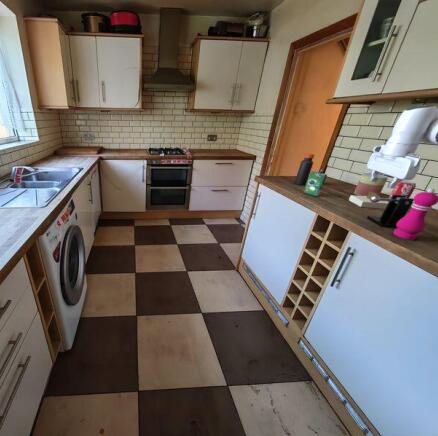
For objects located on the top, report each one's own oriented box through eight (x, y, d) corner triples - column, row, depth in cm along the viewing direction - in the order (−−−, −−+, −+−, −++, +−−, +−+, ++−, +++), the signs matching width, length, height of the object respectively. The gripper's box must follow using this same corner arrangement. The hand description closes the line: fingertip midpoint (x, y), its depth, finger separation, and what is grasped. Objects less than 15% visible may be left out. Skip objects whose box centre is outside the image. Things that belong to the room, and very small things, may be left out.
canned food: (382, 199, 131) (392, 179, 126) (358, 196, 134) (367, 176, 129) (372, 193, 141) (381, 174, 135) (350, 190, 144) (358, 172, 139)
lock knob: (366, 197, 124) (369, 190, 122) (369, 197, 124) (372, 191, 122) (372, 200, 119) (376, 194, 118) (376, 200, 119) (379, 194, 117)
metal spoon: (372, 203, 98) (375, 196, 96) (366, 200, 100) (370, 193, 99) (406, 205, 96) (410, 198, 94) (399, 203, 99) (403, 196, 97)
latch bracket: (381, 226, 98) (396, 199, 93) (366, 218, 106) (379, 192, 101) (412, 229, 97) (429, 201, 91) (395, 220, 105) (410, 194, 99)
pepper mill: (386, 231, 95) (412, 185, 86) (404, 232, 94) (431, 185, 86) (403, 240, 88) (433, 191, 79) (422, 241, 88) (454, 192, 79)
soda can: (393, 206, 121) (405, 183, 115) (382, 201, 127) (394, 179, 122) (408, 207, 120) (421, 184, 114) (397, 202, 126) (409, 180, 121)
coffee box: (319, 196, 133) (327, 174, 127) (316, 196, 132) (324, 174, 126) (305, 192, 140) (313, 170, 134) (302, 192, 138) (310, 171, 133)
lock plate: (376, 202, 126) (378, 196, 125) (390, 209, 117) (393, 203, 116) (348, 200, 128) (350, 194, 127) (360, 206, 119) (363, 201, 118)
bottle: (292, 182, 158) (301, 153, 149) (301, 182, 158) (310, 153, 150) (299, 185, 152) (309, 155, 143) (308, 185, 152) (318, 155, 144)
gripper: (433, 156, 80) (411, 193, 86) (387, 147, 98) (372, 178, 104) (412, 154, 81) (393, 191, 87) (371, 146, 99) (357, 177, 105)
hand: (381, 184), depth 95 cm, fingers open, 8 cm apart
